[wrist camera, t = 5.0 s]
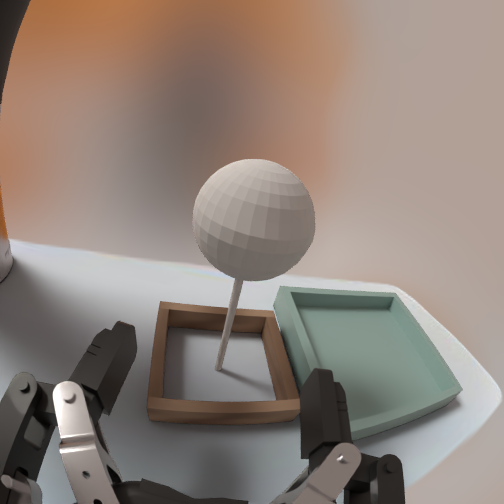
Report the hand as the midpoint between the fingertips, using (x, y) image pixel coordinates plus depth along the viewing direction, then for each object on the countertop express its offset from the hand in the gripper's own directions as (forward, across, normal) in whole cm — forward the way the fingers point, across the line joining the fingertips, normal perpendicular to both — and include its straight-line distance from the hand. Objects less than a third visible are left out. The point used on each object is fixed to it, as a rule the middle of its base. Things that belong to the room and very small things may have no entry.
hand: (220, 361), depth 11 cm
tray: (+8, -13, +8) cm, 17 cm away
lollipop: (+5, 0, +8) cm, 9 cm away
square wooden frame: (+5, 0, +8) cm, 9 cm away
